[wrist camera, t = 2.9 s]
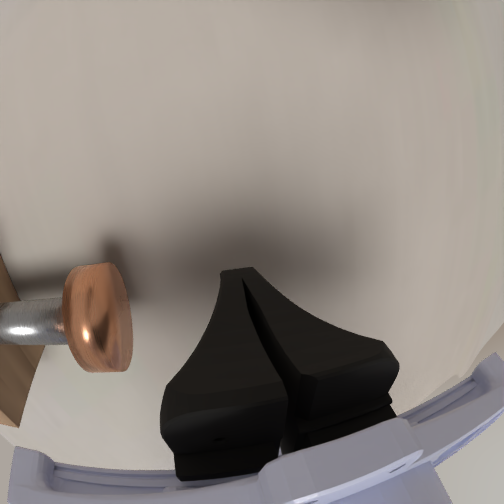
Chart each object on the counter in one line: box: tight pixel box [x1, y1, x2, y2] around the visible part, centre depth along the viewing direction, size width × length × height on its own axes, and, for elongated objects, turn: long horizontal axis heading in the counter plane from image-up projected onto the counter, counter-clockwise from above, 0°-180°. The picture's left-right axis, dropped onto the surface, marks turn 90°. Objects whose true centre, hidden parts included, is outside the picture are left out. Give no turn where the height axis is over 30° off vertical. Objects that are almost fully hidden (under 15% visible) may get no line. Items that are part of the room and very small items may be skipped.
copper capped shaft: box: [0, 262, 133, 373], centre depth 10 cm, size 11×4×4 cm, turn 92°
